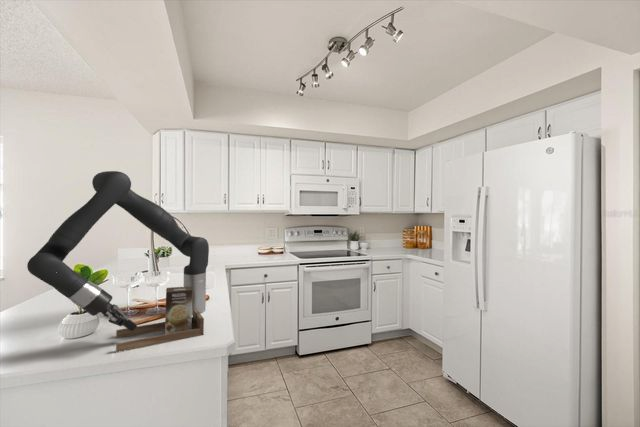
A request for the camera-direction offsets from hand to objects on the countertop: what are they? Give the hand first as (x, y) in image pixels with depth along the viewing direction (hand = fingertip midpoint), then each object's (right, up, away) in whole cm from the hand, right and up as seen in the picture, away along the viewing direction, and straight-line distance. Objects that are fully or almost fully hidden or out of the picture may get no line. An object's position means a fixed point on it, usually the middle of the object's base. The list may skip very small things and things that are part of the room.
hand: (134, 328), depth 106 cm
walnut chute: (+6, -5, +4) cm, 9 cm away
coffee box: (+11, -5, +9) cm, 15 cm away
